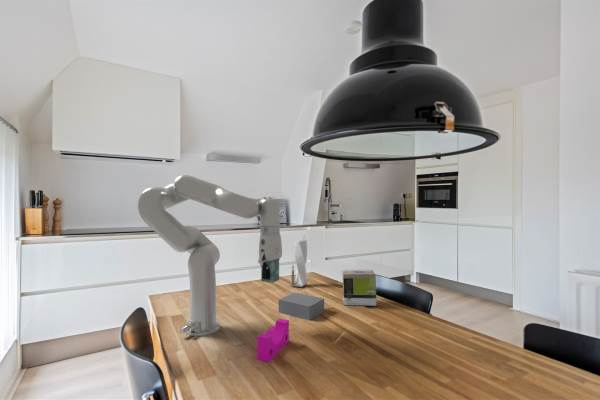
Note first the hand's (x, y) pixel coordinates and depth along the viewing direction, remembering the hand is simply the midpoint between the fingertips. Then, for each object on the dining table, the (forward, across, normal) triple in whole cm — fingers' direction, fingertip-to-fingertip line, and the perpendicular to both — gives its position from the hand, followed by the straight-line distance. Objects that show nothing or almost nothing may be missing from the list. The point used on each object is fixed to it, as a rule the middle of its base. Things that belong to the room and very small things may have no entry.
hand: (270, 276), depth 120 cm
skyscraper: (+20, +57, +16) cm, 63 cm away
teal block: (+2, 0, 0) cm, 2 cm away
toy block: (+20, -15, -10) cm, 27 cm away
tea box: (+20, +42, -23) cm, 52 cm away
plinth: (+20, +19, -4) cm, 28 cm away
